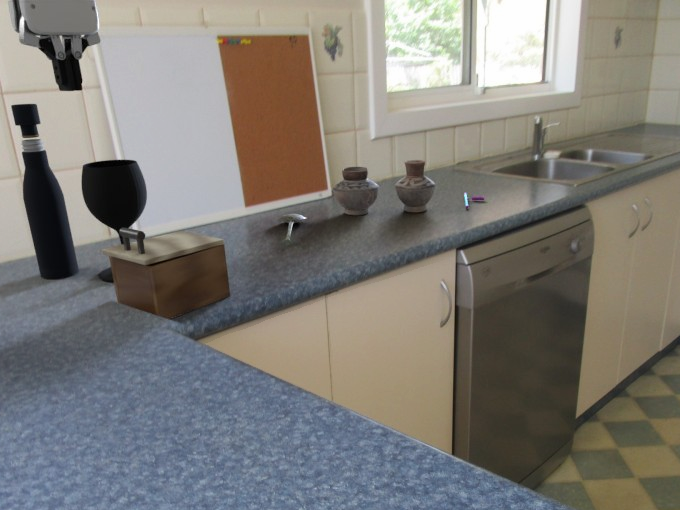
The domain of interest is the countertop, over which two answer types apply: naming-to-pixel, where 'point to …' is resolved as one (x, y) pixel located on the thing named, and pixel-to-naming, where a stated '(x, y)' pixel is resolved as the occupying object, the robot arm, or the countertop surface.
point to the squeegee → (472, 199)
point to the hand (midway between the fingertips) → (70, 90)
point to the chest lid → (159, 246)
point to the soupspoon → (290, 225)
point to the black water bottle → (44, 202)
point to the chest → (172, 282)
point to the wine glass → (114, 195)
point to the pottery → (363, 192)
